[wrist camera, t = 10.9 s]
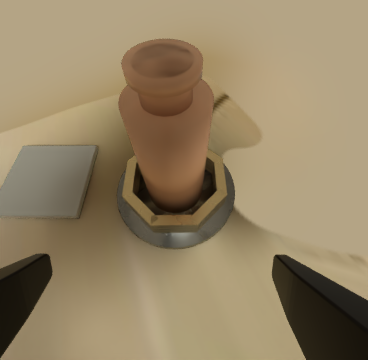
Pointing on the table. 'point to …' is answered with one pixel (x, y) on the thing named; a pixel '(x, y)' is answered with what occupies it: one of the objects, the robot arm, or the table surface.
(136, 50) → the vase
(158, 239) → the holder
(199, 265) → the table surface
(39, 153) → the tile
